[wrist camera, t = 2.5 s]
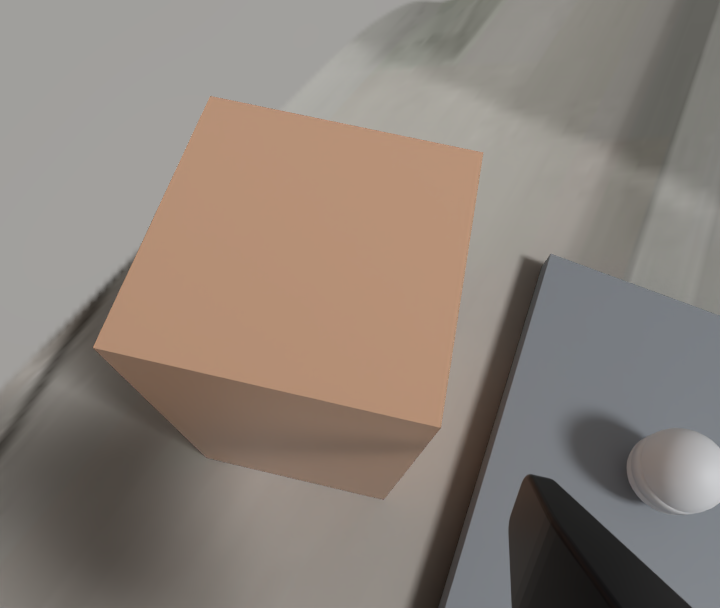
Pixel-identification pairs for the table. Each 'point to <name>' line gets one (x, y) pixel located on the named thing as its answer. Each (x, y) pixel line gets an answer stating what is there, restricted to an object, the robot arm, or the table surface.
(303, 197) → the cover box
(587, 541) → the robot arm
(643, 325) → the post board
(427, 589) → the table surface
